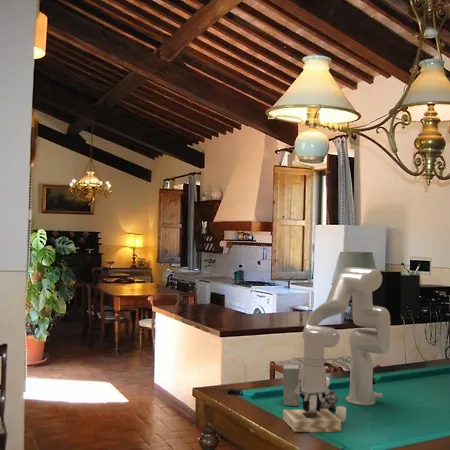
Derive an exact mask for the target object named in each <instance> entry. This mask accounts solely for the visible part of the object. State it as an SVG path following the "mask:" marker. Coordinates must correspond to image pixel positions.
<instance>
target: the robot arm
mask: <svg viewBox="0 0 450 450" xmlns="http://www.w3.org/2000/svg"><path fill="white" fill-rule="evenodd" d="M382 282H383V274H382V273H381V271H380V270H379V269H376V268H368V267H367V268H366V267H357V266H350V267H345V268H343V269H342V271H341V272H340V273H338V274H337V275H336V276H335V278H334V281H333V282H332V286H331V288H330V290H329V293H328V296H327V298H326V300H325V302H324V303H322V304H320V305H319V306H317V307H316V308H315V309H314V310H313V311H312V312H311V313H310V314H309V315H308V317H307V319H306V322H305V325H304V327H303V330H302V339H303V340H304V343H303V364H301V365H300V367H299V380H298V386H297V388H296V389H295V391H294V392H295V393H296V394H298V395H299V398H301V399H302V409H304V410H305V411H306V412H308V401H307V398H308V394H309V393H317V394H318V399H317V411H318V412H319V411H320V408H321V401H322V399H323V398H324V397H325V396H326V395H327V394H328V393H330V391H331V390H330V388H329V386H328V387H327V381H326V377H327V371H326V367H325V365H324V364H326V363H327V362H328V359H327V358H325V356H324V355H325V348H334V347H336V346H337V345H338V344H339V342H340V339H341V337H340V333H339V331H338V330H337V329H335V328H333V327H330V326H329V327H328V326H323V325H319V324H320V323H321V322H322V321H324V320H325V319H327V318H330V317H333V316H337V315H340V314H342V313H344V312H345V311H347V307H348V305H349V302H350V300H351V297H352V300H351V301H352V303H351V304H352V321H353V323H354V325H356V326H359V327H365V328H370V329H365V328H355V329H352V331H351V332H350V333H349V336H348V337H349V339H348V341H349V348H350V372H349V373H350V375H349V395H347V396H346V397H345V400H346V402H347V403H350V404H352V405H355V406H356V405H358V406H373V405H375V404H376V399H377V398H383V396H384V395H383V393H382V392H377V391H373V375H374V372H373V371H374V361H373V357H372V356H371V354H370V353H372V354H377V355H386V354H388V352H390V349H391V315H390V314H391V313H390V312H389V310H388V309H387V308H386V307H383V306H379V305H374V304H373V303H374V302H373V292H375V291H376V290H378V289H379V288H380V287H381V285H382ZM372 329H375V330H372Z"/></svg>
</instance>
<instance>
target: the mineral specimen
mask: <svg viewBox="0 0 450 450" xmlns="http://www.w3.org/2000/svg"><path fill="white" fill-rule="evenodd" d="M337 402H339V398H338V396H337V394H336V392H335V390H334V389H331V390H330V393H328V394H327V395H326V396H325V397H324V398H323V399H322V401H321V408H320V409H328V410H329V409H333V410H336V404H337Z"/></svg>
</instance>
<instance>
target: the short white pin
mask: <svg viewBox="0 0 450 450" xmlns="http://www.w3.org/2000/svg"><path fill="white" fill-rule="evenodd" d="M335 407H336V408H335V416H336V417H337V418H339V419H340V420H341V423H345V422H346V421H347V407H346V406H343V405H337V406H336V405H335Z"/></svg>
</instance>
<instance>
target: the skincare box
mask: <svg viewBox="0 0 450 450" xmlns="http://www.w3.org/2000/svg"><path fill="white" fill-rule="evenodd" d="M299 373H300V365H299V364H297V365H296V364H285V365H283V368H282V387H283V388H282V390H283V395H282V396H283V397H282V398H283V406H289V407H290V406H292V407H299V405H300V396H299V395H298V394H296V393H295V392H294V391H295V389H296V388H297V386H298V380H299Z"/></svg>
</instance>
